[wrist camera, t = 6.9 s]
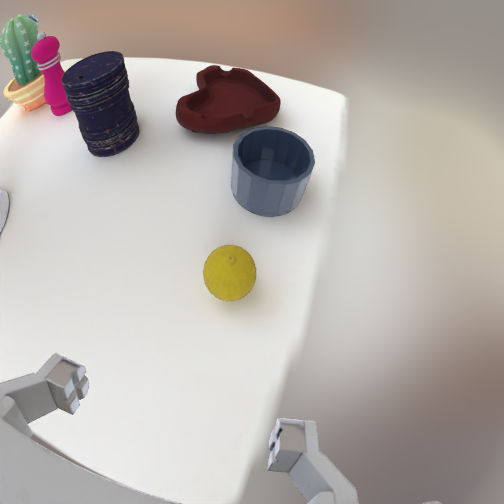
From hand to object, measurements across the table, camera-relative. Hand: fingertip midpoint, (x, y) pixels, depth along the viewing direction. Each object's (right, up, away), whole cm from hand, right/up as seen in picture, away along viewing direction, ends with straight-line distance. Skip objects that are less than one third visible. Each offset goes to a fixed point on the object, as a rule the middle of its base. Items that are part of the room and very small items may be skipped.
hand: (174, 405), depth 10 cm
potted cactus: (-49, +43, +39) cm, 76 cm away
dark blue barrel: (-21, +26, +33) cm, 47 cm away
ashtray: (-1, +31, +38) cm, 49 cm away
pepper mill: (-37, +37, +37) cm, 64 cm away
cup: (+5, +15, +31) cm, 35 cm away
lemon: (0, +2, +25) cm, 25 cm away
